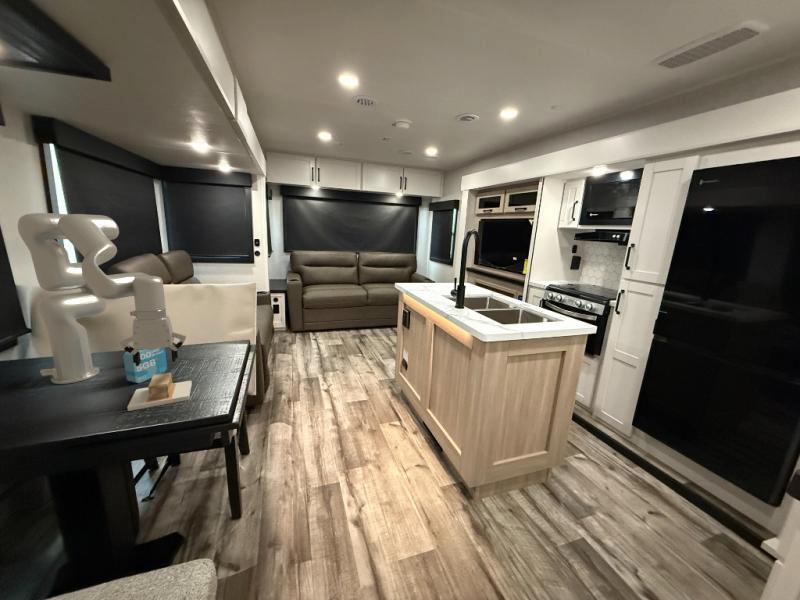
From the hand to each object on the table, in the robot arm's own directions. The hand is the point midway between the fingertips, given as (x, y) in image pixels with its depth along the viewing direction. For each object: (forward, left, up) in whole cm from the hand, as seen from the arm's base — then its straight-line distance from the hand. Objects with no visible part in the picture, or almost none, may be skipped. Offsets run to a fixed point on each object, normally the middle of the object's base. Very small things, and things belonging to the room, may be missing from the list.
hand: (156, 362), depth 103 cm
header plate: (0, 0, -13) cm, 13 cm away
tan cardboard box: (0, 0, -11) cm, 11 cm away
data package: (-7, +19, -13) cm, 24 cm away
